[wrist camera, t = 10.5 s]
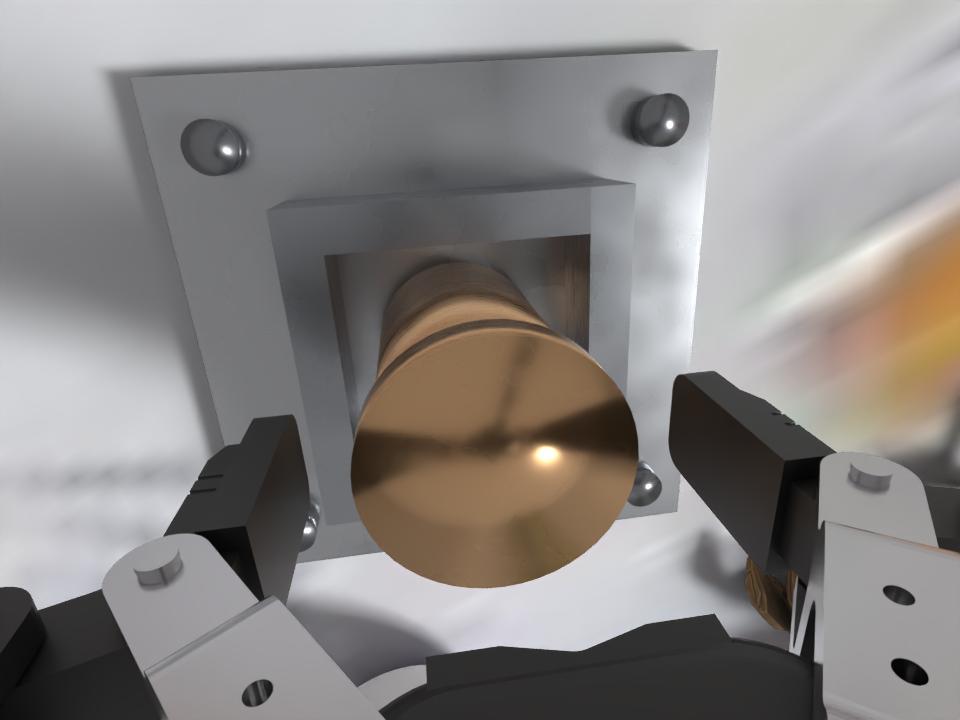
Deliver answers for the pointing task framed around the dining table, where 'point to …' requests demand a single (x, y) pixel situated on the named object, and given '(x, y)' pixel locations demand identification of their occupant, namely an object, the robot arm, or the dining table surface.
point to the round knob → (486, 436)
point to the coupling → (431, 230)
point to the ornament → (393, 684)
